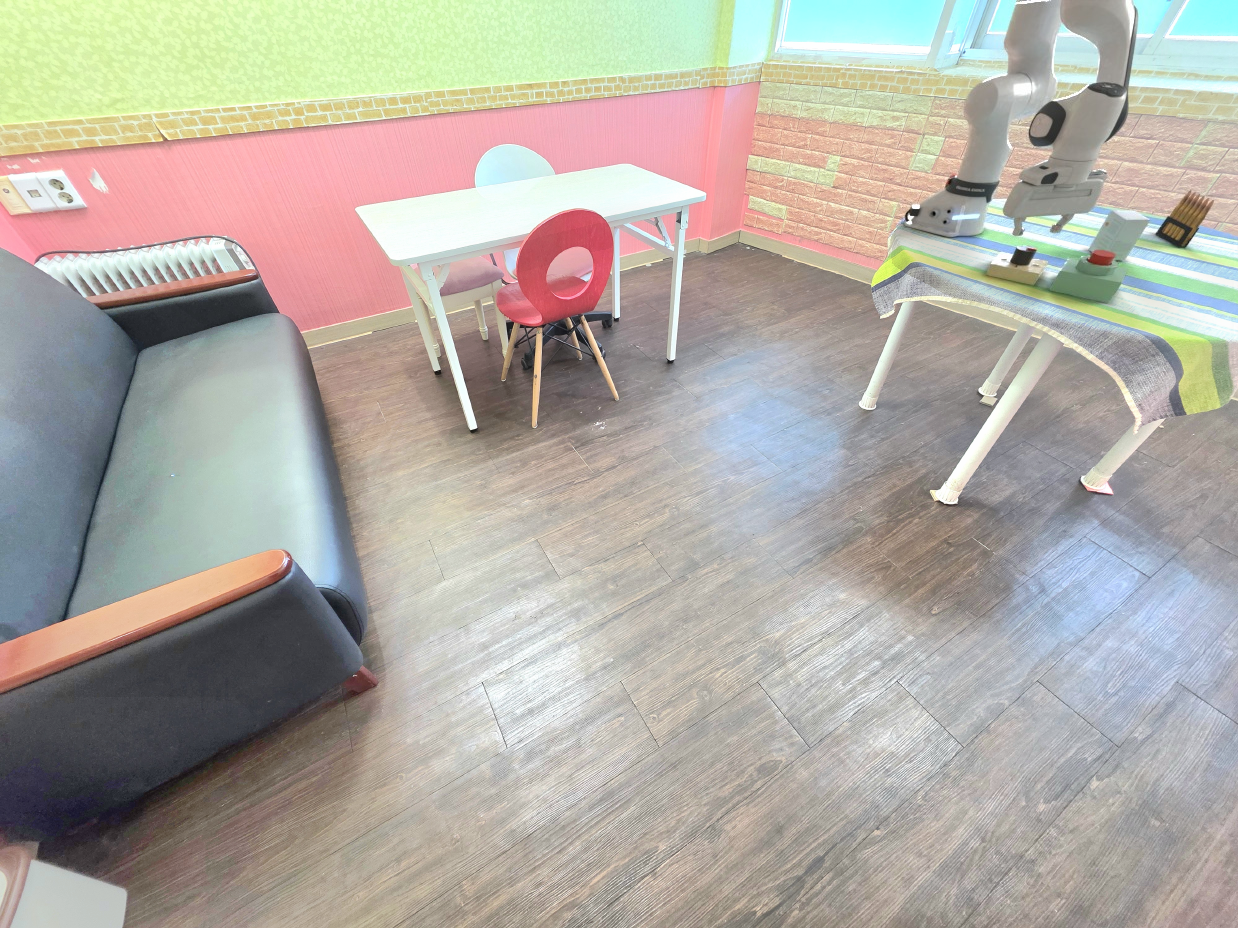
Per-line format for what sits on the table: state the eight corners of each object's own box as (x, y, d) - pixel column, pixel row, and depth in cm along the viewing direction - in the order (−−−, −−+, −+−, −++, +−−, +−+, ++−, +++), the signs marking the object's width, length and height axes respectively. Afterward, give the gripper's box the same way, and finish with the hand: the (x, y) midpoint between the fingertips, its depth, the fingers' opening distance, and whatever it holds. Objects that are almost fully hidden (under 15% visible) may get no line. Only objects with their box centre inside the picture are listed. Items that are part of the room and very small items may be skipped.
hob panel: (985, 275, 131) (991, 263, 129) (995, 263, 137) (1001, 251, 134) (1033, 285, 126) (1040, 273, 124) (1042, 272, 131) (1049, 260, 129)
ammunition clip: (1154, 234, 146) (1184, 189, 138) (1161, 234, 146) (1192, 189, 137) (1178, 247, 138) (1212, 201, 130) (1186, 247, 138) (1220, 201, 130)
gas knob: (1007, 263, 129) (1015, 248, 126) (1012, 257, 131) (1019, 243, 129) (1027, 267, 127) (1035, 252, 124) (1031, 261, 129) (1039, 246, 126)
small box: (1124, 261, 133) (1151, 220, 126) (1101, 260, 134) (1126, 219, 127) (1109, 250, 139) (1135, 210, 132) (1087, 249, 140) (1110, 209, 133)
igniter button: (1085, 264, 118) (1091, 254, 117) (1088, 258, 121) (1094, 248, 119) (1107, 268, 116) (1114, 258, 115) (1111, 262, 118) (1117, 252, 117)
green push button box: (1048, 290, 123) (1064, 262, 119) (1057, 277, 129) (1073, 249, 124) (1108, 303, 117) (1127, 274, 113) (1114, 288, 122) (1133, 260, 118)
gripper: (1100, 165, 117) (1068, 227, 126) (1014, 171, 117) (988, 232, 126) (1121, 171, 112) (1086, 235, 121) (1031, 178, 112) (1003, 241, 122)
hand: (1035, 234), depth 124 cm, fingers open, 8 cm apart
